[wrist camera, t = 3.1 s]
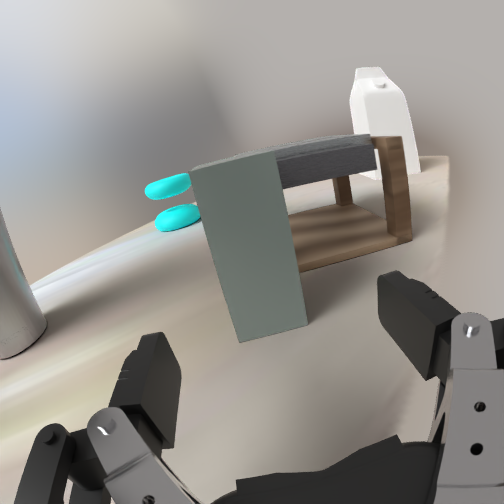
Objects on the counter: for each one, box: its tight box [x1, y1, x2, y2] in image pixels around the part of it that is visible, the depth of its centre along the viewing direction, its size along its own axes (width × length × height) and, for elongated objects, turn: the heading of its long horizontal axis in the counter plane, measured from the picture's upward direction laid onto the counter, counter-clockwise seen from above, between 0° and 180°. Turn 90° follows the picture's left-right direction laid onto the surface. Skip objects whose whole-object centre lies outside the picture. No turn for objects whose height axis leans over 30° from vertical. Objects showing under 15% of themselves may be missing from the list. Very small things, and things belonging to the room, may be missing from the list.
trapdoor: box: [235, 134, 377, 189], centre depth 32 cm, size 17×13×3 cm
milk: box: [350, 67, 421, 180], centre depth 60 cm, size 12×12×26 cm
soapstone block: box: [188, 150, 308, 343], centre depth 21 cm, size 5×5×12 cm
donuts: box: [145, 173, 200, 231], centre depth 59 cm, size 10×10×10 cm
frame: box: [288, 136, 412, 273], centre depth 35 cm, size 18×18×11 cm
